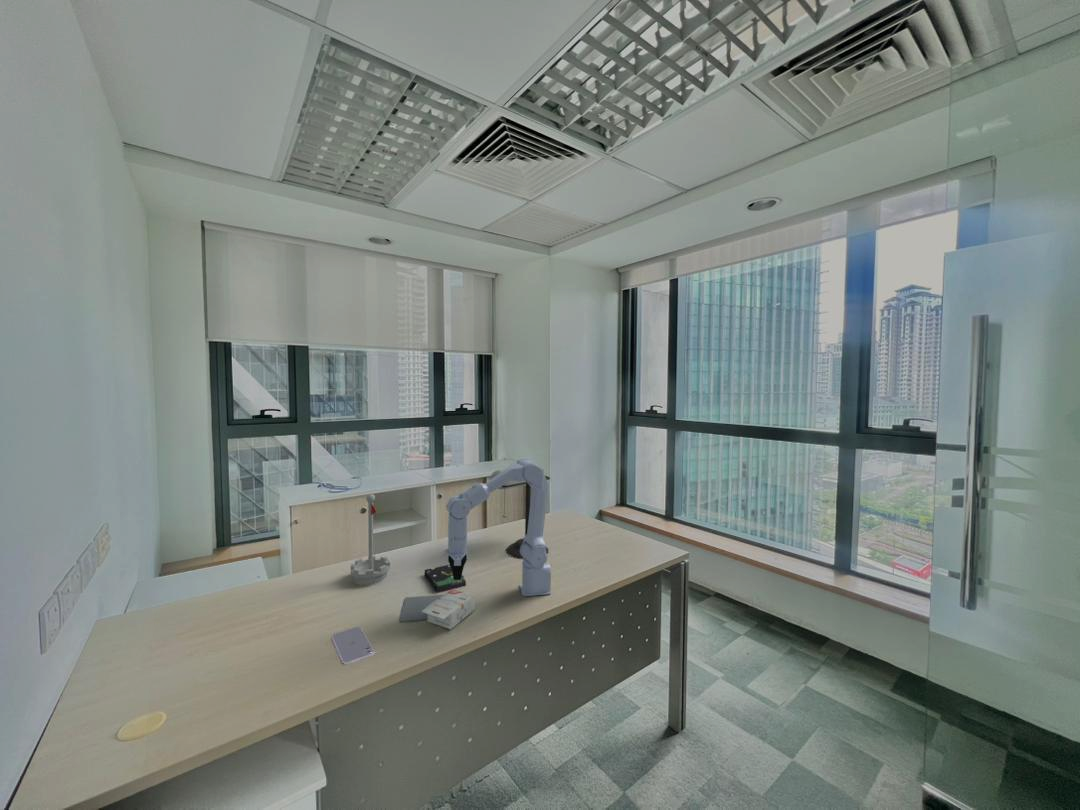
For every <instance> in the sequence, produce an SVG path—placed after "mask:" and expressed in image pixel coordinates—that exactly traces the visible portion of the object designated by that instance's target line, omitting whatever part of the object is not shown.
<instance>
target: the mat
mask: <svg viewBox="0 0 1080 810" xmlns="http://www.w3.org/2000/svg"><path fill="white" fill-rule="evenodd" d="M443 595H444V594H435V595H422V596H421V595H420V596H409V597H408V596H406V597H405V598H404V601H403V605H402V611H401V614H400V617H399V618H400V619H399V623H408V622H409V623H411V622H419V621H420V622H421V621H428V614H426V613H423V612H422V611H423V610H424V609H425V608H426V607H427V606H428V605H430V604H431V603H433V602H434V601H436V600H437V599H439V598H440V597H442V596H443Z"/></svg>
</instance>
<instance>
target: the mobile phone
mask: <svg viewBox="0 0 1080 810" xmlns="http://www.w3.org/2000/svg"><path fill="white" fill-rule="evenodd" d="M331 639H332V642H333V644H334V647H335V649H336V650H337V653H339V654H338V656H339V658H341V659H340V661H341V660H342V661H341V662H343V663H349V662H353V661H355V660H356V662H358V661H357V660H359V659H361V660H363V659H362V658H364V659H366V658H365V657H367V658H369V657H368V656H370V657H372V656H373V655H374V654H375V650H374V649H373V647H372V645H371V643H370V641H369V640H368V638H367V636H366V634H365V633H364V631H363V629H362V628H361V627H360V626H355V627H352V628H350V629H346V630H342V631H339V632H336V633H334V634H332V636H331ZM371 655H372V656H371ZM359 661H360V660H359ZM343 663H342V664H343ZM353 663H354V662H353Z"/></svg>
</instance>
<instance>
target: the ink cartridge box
mask: <svg viewBox="0 0 1080 810" xmlns="http://www.w3.org/2000/svg"><path fill="white" fill-rule="evenodd" d="M442 595H443V596H442V597H440V598H439V599H437V600H436V601H434V602H433V603H431V604H430V605H428V606H427V607H426V608H425V609H424V610H423V611H422V612H423V613H426V614H428V620H427V622H428V623H431V624H434V625H437V626H440V627H442V628H446V629H448V630H453V628H454V627H455V626H456V625H457V626H458V624H459V623H461V622H462V621H463V620H464V619H465V618H467V616H469V615H470V614H471V613H473V612H474V611H475V595H474V594H471V593H467V592H463V591H460V590H457V589H451V590H448V592H446V593H445V594H442Z"/></svg>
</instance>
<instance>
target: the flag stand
mask: <svg viewBox="0 0 1080 810" xmlns="http://www.w3.org/2000/svg"><path fill="white" fill-rule="evenodd" d="M365 498H366V500H365V501H366V502H367V503H368V505H367V506H368V507H367V508H368V520H367V521H368V558H367V559H364V560H363V558H358V559H357V560H354V563H351V564H350V574H351V576H353V582H354V581H355V582H356V583H357V584H356V583H355V582H354V583H355V584H356V585H359V584H361V585H360V586H371V585H370V584H372V585H376V584H375V583H377V584H379V582H380V583H382V582H383V580H384V579H385V578H386V577H388V572H389V571H390V570H391V559H388V556H383V555H382V556H380V558H377V556H376V555H374V515H375V514H376V512H377V511H376V508H375V507H374V502H375V501H376V496H375V494H373V493H369V494H367V495H366V497H365ZM386 579H387V578H386ZM386 579H385V580H386ZM385 580H384V581H385ZM381 581H382V582H381Z"/></svg>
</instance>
